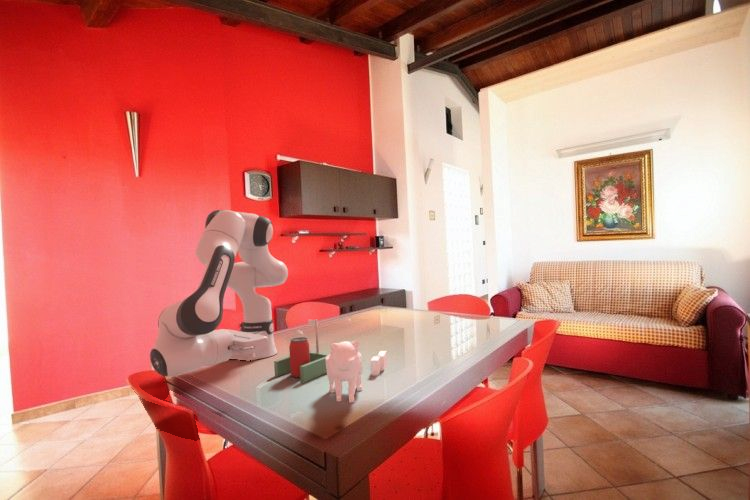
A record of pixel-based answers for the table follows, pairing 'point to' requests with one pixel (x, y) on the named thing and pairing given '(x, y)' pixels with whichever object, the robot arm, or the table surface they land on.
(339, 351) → the cat figurine
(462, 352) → the table surface
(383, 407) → the table surface
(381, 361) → the napkin holder
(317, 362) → the green low-walled tray
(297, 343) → the beer can
